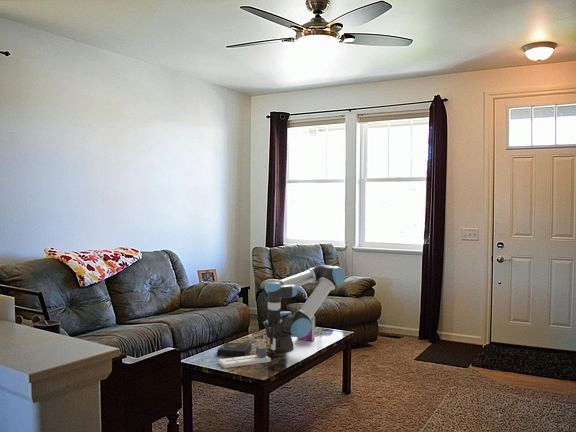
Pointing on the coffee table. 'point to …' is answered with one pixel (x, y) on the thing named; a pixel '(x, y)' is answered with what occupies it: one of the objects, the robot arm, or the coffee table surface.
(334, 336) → the coffee table surface
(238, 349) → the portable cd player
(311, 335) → the candy bar box
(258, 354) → the fader knob
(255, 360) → the board
